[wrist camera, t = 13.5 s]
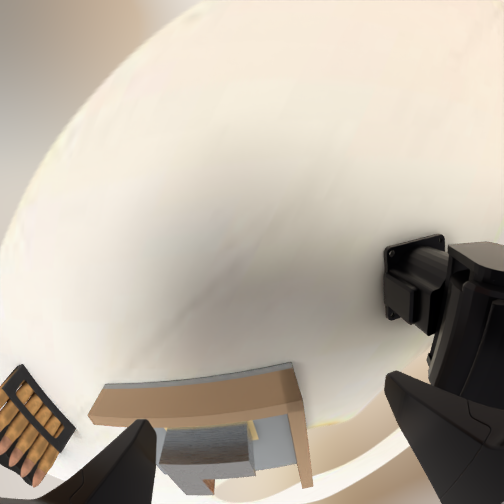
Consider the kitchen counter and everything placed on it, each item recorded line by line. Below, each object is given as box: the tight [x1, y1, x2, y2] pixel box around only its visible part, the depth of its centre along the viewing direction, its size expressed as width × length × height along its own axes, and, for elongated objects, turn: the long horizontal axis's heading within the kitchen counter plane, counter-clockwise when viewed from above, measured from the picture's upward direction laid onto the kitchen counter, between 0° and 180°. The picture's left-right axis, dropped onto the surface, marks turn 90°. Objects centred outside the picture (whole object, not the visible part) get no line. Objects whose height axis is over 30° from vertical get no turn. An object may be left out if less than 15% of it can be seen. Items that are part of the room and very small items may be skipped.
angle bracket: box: [159, 421, 256, 495], centre depth 20 cm, size 7×8×5 cm
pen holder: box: [0, 414, 40, 486], centre depth 19 cm, size 9×9×10 cm
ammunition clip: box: [0, 364, 76, 487], centre depth 16 cm, size 11×2×12 cm, turn 26°
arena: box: [88, 362, 313, 489], centre depth 21 cm, size 18×16×5 cm
